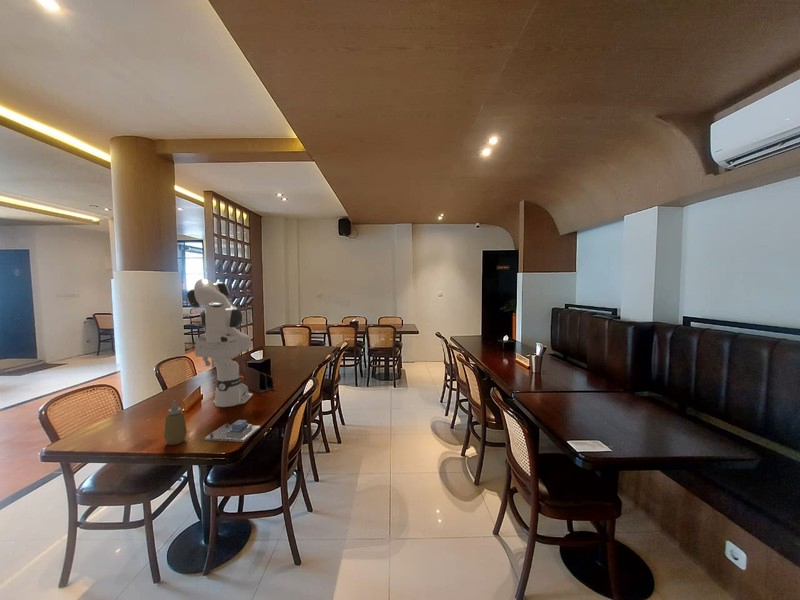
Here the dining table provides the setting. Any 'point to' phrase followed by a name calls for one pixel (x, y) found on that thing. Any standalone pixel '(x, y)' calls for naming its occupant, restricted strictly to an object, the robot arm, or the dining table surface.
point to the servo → (239, 425)
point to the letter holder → (258, 380)
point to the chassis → (231, 433)
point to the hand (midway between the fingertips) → (217, 366)
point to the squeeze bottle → (175, 425)
